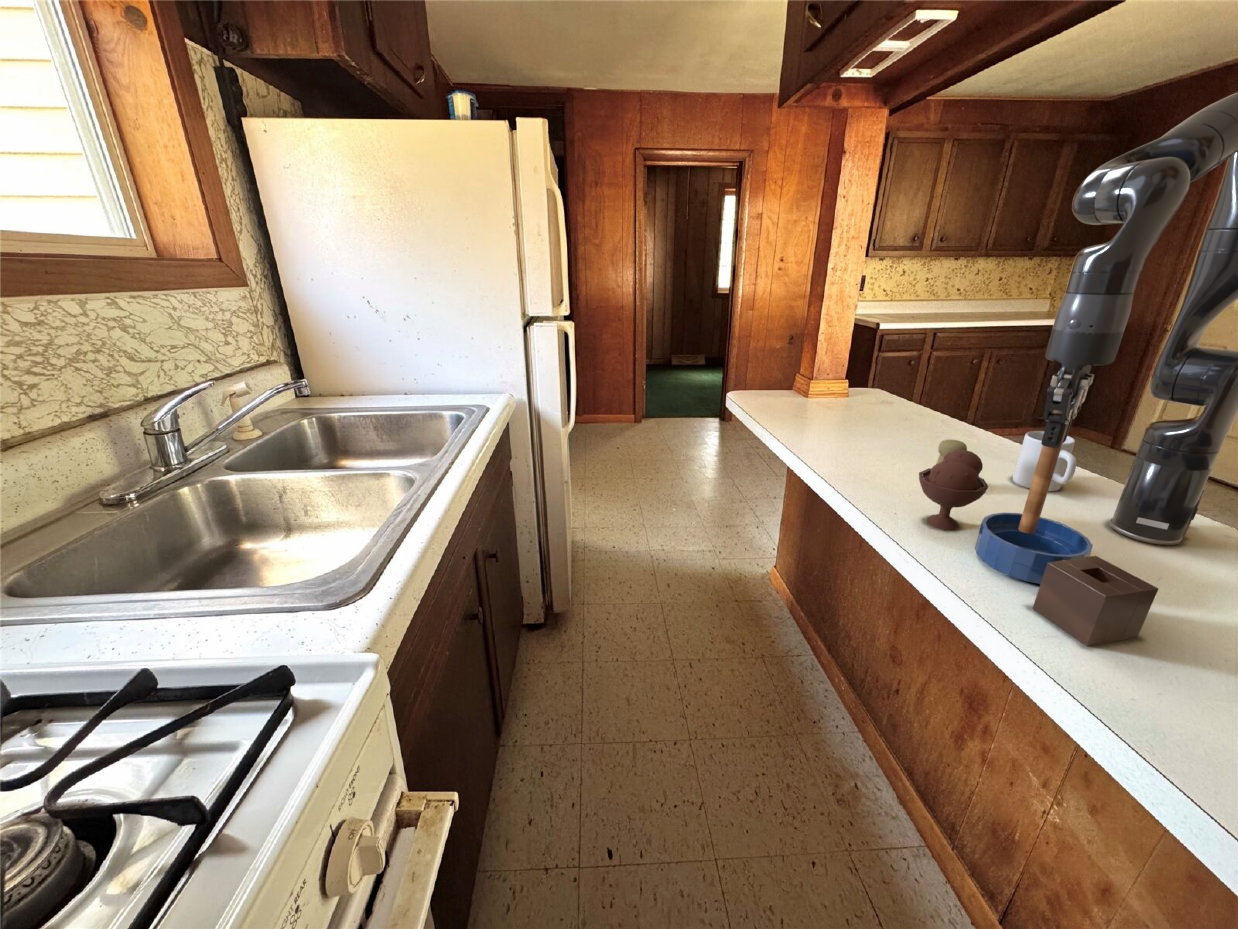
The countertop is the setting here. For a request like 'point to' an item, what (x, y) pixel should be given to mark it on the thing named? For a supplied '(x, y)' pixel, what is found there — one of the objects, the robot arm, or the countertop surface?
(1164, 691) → the countertop surface
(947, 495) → the ice cream bowl
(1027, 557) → the blue round bowl
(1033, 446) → the mug
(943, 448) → the cork
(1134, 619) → the stand
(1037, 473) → the stirring stick
